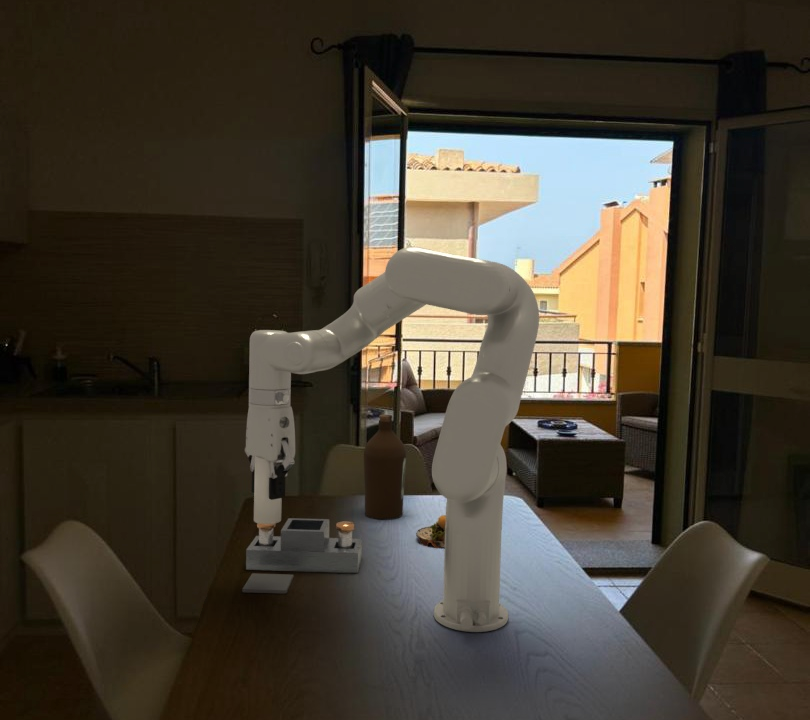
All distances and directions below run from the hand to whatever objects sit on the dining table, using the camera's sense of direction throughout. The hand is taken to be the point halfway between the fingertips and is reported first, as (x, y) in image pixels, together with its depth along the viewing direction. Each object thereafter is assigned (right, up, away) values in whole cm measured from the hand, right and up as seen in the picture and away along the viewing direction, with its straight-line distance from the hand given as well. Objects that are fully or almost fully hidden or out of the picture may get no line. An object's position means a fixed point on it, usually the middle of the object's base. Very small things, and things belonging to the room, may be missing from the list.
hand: (268, 494), depth 142 cm
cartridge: (0, -5, 0) cm, 5 cm away
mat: (0, -17, +1) cm, 17 cm away
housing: (+5, -16, +13) cm, 22 cm away
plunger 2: (+13, -16, +13) cm, 25 cm away
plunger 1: (-3, -16, +13) cm, 21 cm away
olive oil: (+20, -14, +50) cm, 55 cm away
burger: (+34, -16, +30) cm, 48 cm away
